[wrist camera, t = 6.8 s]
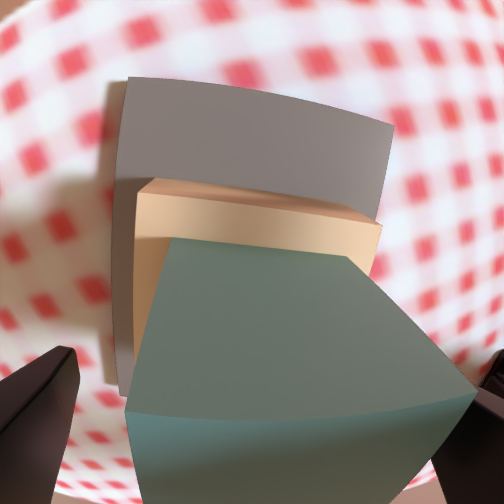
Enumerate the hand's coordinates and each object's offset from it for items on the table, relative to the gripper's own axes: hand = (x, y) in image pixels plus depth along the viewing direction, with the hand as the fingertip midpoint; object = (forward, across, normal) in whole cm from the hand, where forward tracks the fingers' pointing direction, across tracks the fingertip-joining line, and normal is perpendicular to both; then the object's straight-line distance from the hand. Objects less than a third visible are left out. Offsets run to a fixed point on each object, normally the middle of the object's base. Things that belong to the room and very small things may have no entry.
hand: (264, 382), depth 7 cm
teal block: (+3, 0, 0) cm, 3 cm away
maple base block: (+6, 0, 0) cm, 6 cm away
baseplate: (+6, 0, 0) cm, 6 cm away
